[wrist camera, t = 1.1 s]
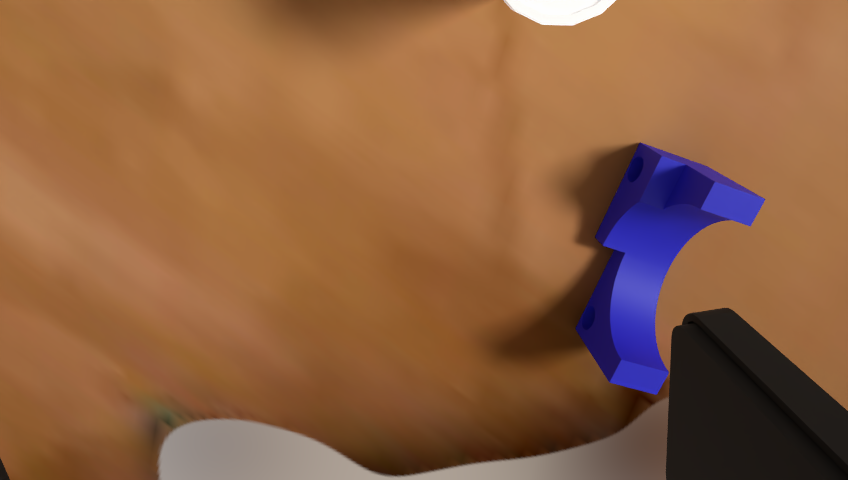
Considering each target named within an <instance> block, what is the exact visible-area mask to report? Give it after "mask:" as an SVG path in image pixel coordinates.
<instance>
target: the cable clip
mask: <svg viewBox="0 0 848 480" xmlns="http://www.w3.org/2000/svg"><path fill="white" fill-rule="evenodd" d="M764 201H765V199H764V198H762V197H760V196H758V195H757V194H755V193H753V192H751V191H750V190H748V189H746V188H744V187H743V186H741V185H739V184H737V183H735V182H734V181H732V180H730V179H728V178H727V177H725V176H723V175H721V174H720V173H718V172H716V171H714V170H713V169H711V168H709V167H707V166H704V165H702V164H699V163H696V162H693V161H690V160H688V159H685V158H682V157H679V156H677V155H674V154H671V153H668V152H665V151H663V150H660V149H657V148H654V147H651V146H649V145H646V144H643V143H640V144H639V146H638V148H637V150H636V152H635V154H634V156H633V158H632V160H631V162H630V165H629V167H628V169H627V171H626V173H625V175H624V177H623V179H622V181H621V183H620V186H619V188H618V190H617V192H616V194H615V196H614V198H613V200H612V202H611V204H610V206H609V209H608V211H607V213H606V215H605V217H604V219H603V221H602V223H601V225H600V227H599V230H598V232H597V234H596V236H595V238H596V239H597V240H598V241H599V242H600V243H601V244H602V245H603V246H605V247H608V248H612V249H614V251H613V253H612V255H611V257H610V259H609V261H608V263H607V265H606V267H605V269H604V271H603V274H602V276H601V278H600V280H599V282H598V284H597V286H596V288H595V290H594V292H593V294H592V296H591V298H590V300H589V302H588V304H587V306H586V308H585V310H584V312H583V314H582V316H581V318H580V320H579V322H578V324H577V326H576V331H577V332H578V334H579V335H580V337H581V339H582V340H583V342H584V343H585V345H586V346H587V348H588V350H589V351H590V353H591V354H592V356H593V357H594V359H595V360H596V362H597V364H598V365H599V367H600V368H601V370H602V371H603V373H604V375H605V376H606V378H607V379H608V381H609V382H610V383H614V384H618V385H621V386H625V387H629V388H633V389H637V390H641V391H645V392H648V393H652V394H656V395H657V393H658V391H659V389H660V388H661V386H662V384H663V382H664V380H665V379H666V377H667V375H668V373H669V372H668V370H667V369H666V368H665V366H664V364H663V362H662V360H661V357H660V355H659V351H658V348H657V343H656V336H655V314H656V306H657V301H658V296H659V292H660V289H661V286H662V283H663V280H664V278H665V276H666V273H667V271H668V269H669V267H670V265H671V263H672V262H673V260H674V258H675V257H676V255H677V254H678V252H679V251H680V250H681V248H682V247H683V246H684V245H685V244H686V243H687V242H688V241H689V240H690V238H692V237H693V236H694V235H695V234H696V233H698V232H699V231H700V230H702V229H703V228H705V227H707V226H709V225H711V224H713V223H716V222H720V221H725V220H734V221H736V222H739V223H742V224H745V225H748V226H751V224H752V222H753V221H754V219H755V217H756V215H757V213H758V212H759V210H760V208H761V206H762V205H763V203H764Z"/></svg>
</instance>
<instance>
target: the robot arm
mask: <svg viewBox="0 0 848 480" xmlns="http://www.w3.org/2000/svg"><path fill="white" fill-rule="evenodd" d="M666 460H667V461H666V480H848V411H847V410H846V409H845V408H844V407H842V406H841V405H840V404H839V403H838V402H837V401H836V400H834V399H833V398H832V397H831V396H830V395H829V394H828V393H826V392H825V391H824V390H823V389H822V388H821V387H820V386H819V385H817V384H816V383H815V382H814V381H813V380H812V379H811V378H809V377H808V376H807V375H806V374H805V373H804V372H803V371H801V370H800V369H799V368H798V367H797V366H796V365H795V364H793V363H792V362H791V361H790V360H789V359H788V358H787V357H785V356H784V355H783V354H782V353H781V352H780V351H779V350H778V349H776V348H775V347H774V346H773V345H772V344H771V343H770V342H768V341H767V340H766V339H765V338H764V337H763V336H762V335H760V334H759V333H758V332H757V331H756V330H755V329H754V328H752V327H751V326H750V325H749V324H748V323H747V322H746V321H745V320H743V319H742V318H741V317H740V316H739V315H738V314H737V313H735V312H734V311H733V310H731V309H729V308H721V309H715V310H708V311H702V312H696V313H690V314H687V315H686V316H685V317H684V319H683V322H682V325H680V326H676V327H675V328H674V329H673V331H672V340H671V364H670V388H669V411H668V437H667V459H666ZM0 480H10V479H9V477H8V474H7V472H6V470H5V468H4V465H3V463H2V461H1V459H0Z"/></svg>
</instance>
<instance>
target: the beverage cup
mask: <svg viewBox="0 0 848 480" xmlns="http://www.w3.org/2000/svg"><path fill="white" fill-rule="evenodd" d="M615 1H616V0H504V2H505V3H506V4H507V5H508V6H509V8H510V9H512V10H513V11H515V12H517V13H519V14H521V15H523V16H525V17H527V18H529V19H531V20H533V21H535V22H537V23H539V24H542V25H575V24H577V23H580V22H582V21H585V20H587V19H590V18H592V17H595V16H597V15H600V14H602V13H603V12H604V11H605V10H606V9H607V8H608V7H609V6H610V5H611V4H612V3H613V2H615Z"/></svg>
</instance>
